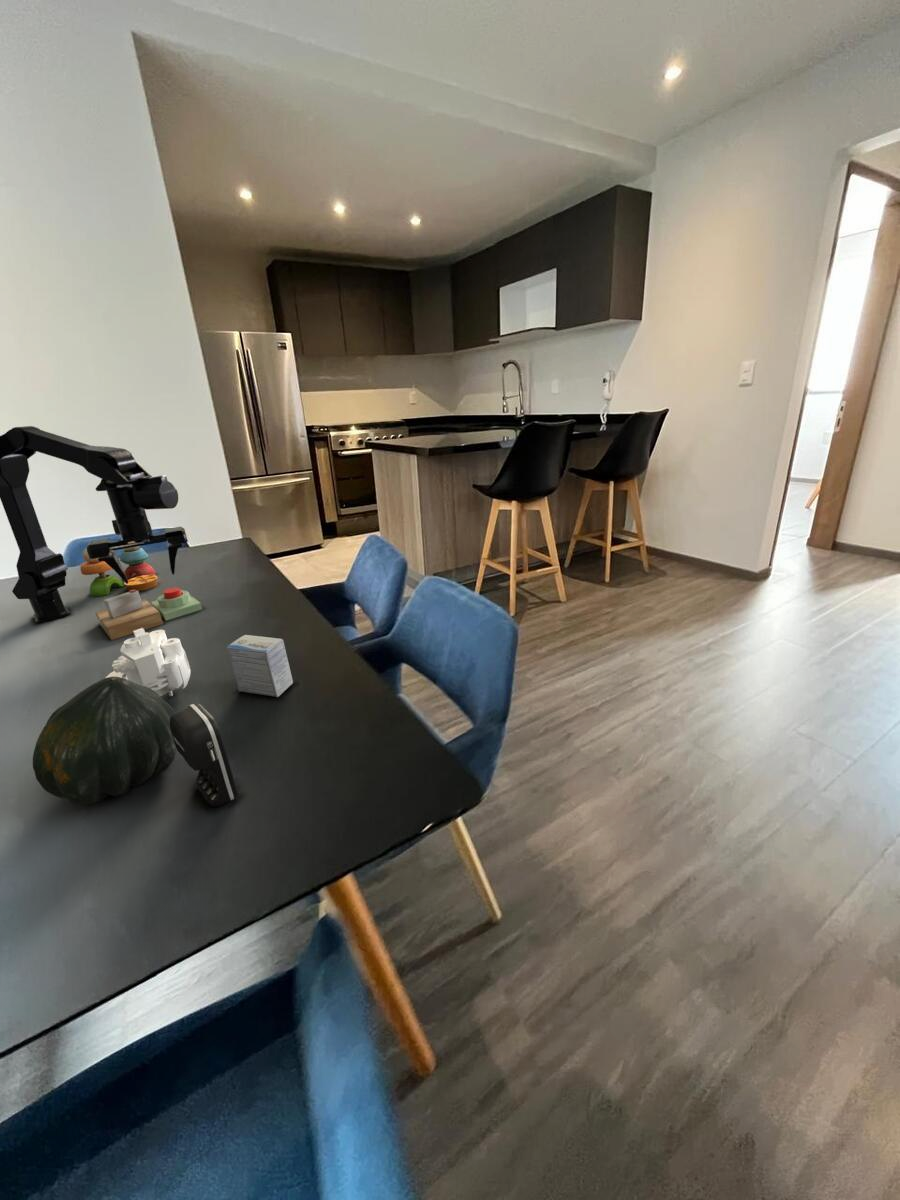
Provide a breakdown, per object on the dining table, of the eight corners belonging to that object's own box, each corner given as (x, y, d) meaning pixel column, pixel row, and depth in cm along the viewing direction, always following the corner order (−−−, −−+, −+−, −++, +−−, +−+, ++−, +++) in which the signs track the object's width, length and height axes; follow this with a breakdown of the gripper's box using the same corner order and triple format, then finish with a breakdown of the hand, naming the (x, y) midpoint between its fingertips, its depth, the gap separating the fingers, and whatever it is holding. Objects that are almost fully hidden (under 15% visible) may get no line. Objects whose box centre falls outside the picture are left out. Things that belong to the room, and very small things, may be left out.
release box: (152, 608, 118) (148, 595, 117) (187, 598, 123) (183, 585, 122) (166, 620, 111) (161, 606, 110) (202, 609, 116) (198, 595, 115)
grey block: (113, 618, 106) (106, 600, 105) (109, 616, 107) (103, 599, 105) (143, 607, 111) (137, 589, 110) (139, 606, 112) (134, 588, 110)
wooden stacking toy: (146, 593, 128) (131, 547, 124) (82, 597, 129) (65, 551, 124) (181, 570, 145) (169, 529, 140) (124, 573, 146) (111, 533, 141)
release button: (163, 597, 116) (161, 590, 115) (179, 593, 118) (177, 586, 118) (167, 601, 114) (165, 594, 113) (184, 596, 116) (182, 589, 115)
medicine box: (294, 684, 83) (284, 638, 79) (277, 698, 79) (266, 651, 75) (255, 678, 85) (244, 633, 82) (237, 692, 81) (225, 646, 78)
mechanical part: (120, 692, 83) (96, 630, 79) (197, 674, 88) (179, 614, 83) (106, 729, 74) (79, 660, 69) (194, 707, 78) (173, 641, 73)
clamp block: (98, 625, 111) (93, 612, 110) (150, 609, 118) (146, 597, 117) (109, 640, 103) (104, 627, 102) (164, 623, 110) (160, 610, 108)
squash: (-3, 764, 59) (14, 697, 52) (116, 699, 72) (143, 639, 65) (79, 847, 59) (107, 792, 51) (184, 767, 72) (219, 714, 64)
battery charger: (187, 787, 61) (161, 711, 57) (218, 770, 64) (195, 696, 59) (208, 816, 57) (181, 736, 52) (241, 798, 59) (217, 719, 55)
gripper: (175, 498, 116) (193, 561, 122) (81, 511, 108) (105, 578, 114) (178, 505, 107) (196, 573, 113) (75, 520, 99) (101, 592, 105)
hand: (150, 578), depth 111 cm, fingers open, 9 cm apart
